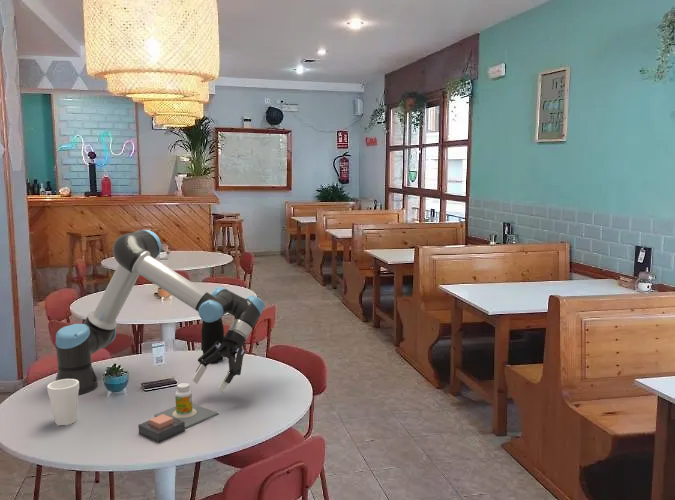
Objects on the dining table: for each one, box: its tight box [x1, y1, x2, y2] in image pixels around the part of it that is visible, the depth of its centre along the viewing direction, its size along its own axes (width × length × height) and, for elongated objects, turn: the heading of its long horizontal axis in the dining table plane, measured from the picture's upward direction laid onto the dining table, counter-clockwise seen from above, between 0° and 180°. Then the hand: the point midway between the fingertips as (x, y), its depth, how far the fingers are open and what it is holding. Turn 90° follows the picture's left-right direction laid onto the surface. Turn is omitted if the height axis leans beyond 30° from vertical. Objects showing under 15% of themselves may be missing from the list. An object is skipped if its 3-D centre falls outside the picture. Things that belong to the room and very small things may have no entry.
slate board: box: [154, 402, 219, 430], centre depth 204 cm, size 16×14×1 cm
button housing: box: [137, 414, 186, 444], centre depth 191 cm, size 10×10×3 cm
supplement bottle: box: [174, 382, 193, 415], centre depth 204 cm, size 5×5×10 cm
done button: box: [148, 414, 174, 429], centre depth 191 cm, size 5×5×2 cm
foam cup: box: [46, 379, 79, 426], centre depth 198 cm, size 10×9×13 cm
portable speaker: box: [200, 316, 225, 365], centre depth 257 cm, size 9×9×20 cm
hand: (207, 386), depth 211 cm, fingers open, 13 cm apart
